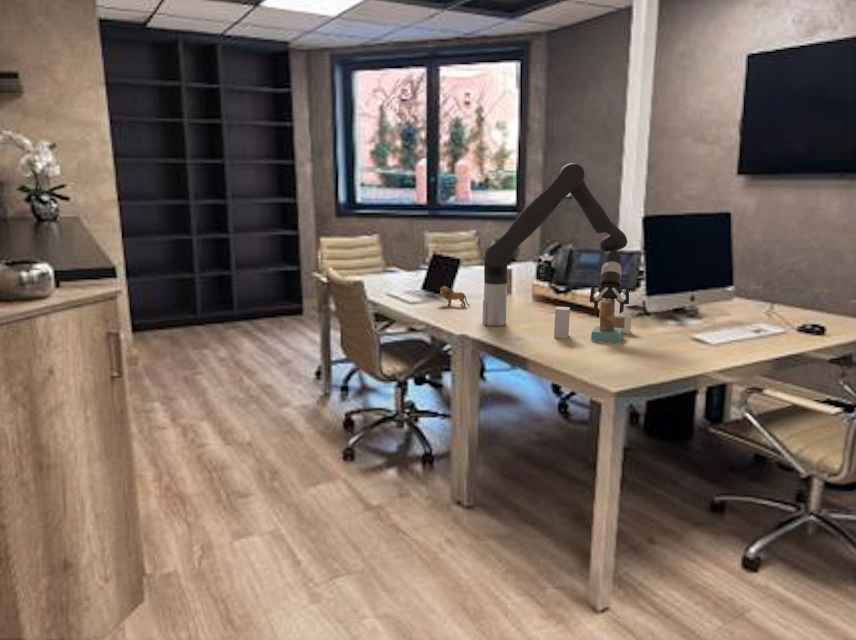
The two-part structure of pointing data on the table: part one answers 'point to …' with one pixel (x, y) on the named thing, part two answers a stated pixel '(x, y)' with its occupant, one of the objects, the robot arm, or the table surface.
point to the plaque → (623, 323)
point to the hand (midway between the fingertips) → (608, 311)
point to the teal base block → (607, 335)
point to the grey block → (561, 322)
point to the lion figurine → (453, 296)
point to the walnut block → (607, 315)
